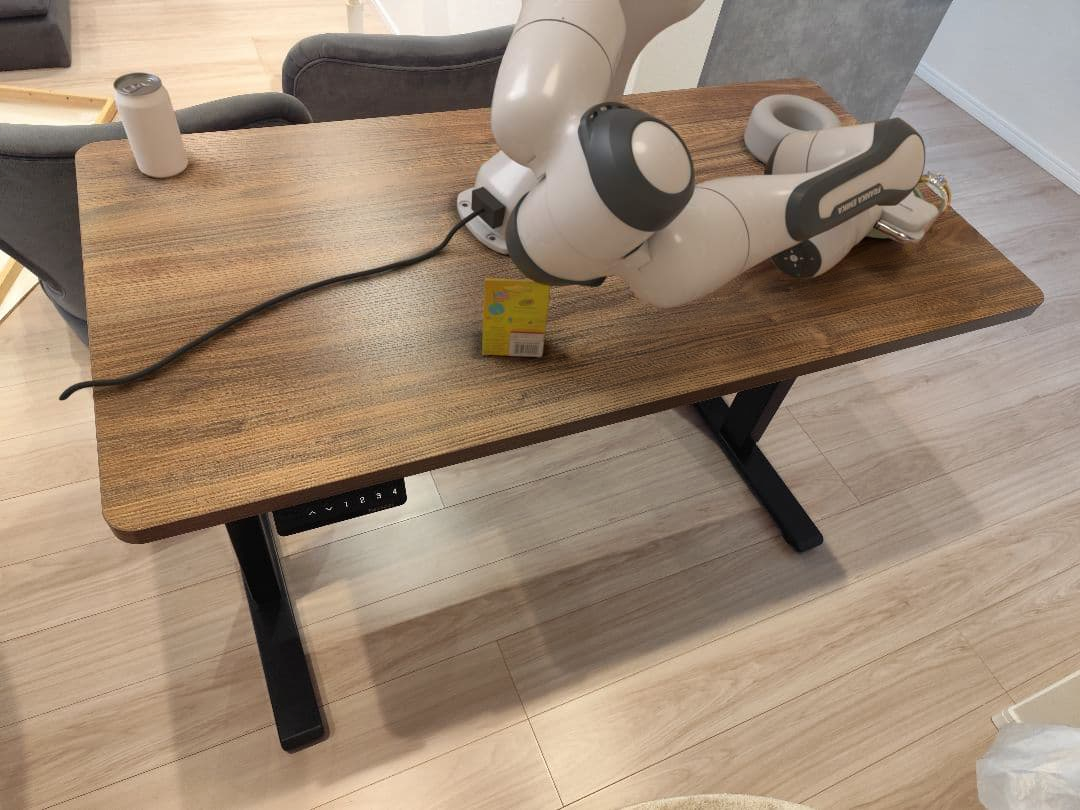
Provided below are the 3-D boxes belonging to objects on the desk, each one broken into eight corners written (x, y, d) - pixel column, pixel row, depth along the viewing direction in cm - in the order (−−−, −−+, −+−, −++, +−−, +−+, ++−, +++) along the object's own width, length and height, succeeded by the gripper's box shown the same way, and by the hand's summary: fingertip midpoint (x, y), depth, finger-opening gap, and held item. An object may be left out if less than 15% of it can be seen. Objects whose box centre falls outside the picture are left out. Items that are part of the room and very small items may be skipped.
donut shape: (786, 119, 131) (800, 83, 126) (847, 165, 123) (865, 128, 118) (723, 136, 125) (736, 99, 120) (784, 185, 117) (800, 147, 112)
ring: (889, 208, 116) (915, 164, 110) (903, 204, 117) (929, 160, 111) (922, 234, 112) (951, 190, 106) (936, 230, 114) (965, 186, 108)
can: (199, 165, 103) (176, 83, 94) (161, 185, 100) (133, 101, 90) (167, 147, 105) (141, 65, 96) (128, 166, 101) (97, 83, 92)
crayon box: (541, 340, 89) (552, 266, 80) (542, 358, 87) (553, 285, 78) (481, 337, 89) (485, 262, 80) (480, 355, 87) (484, 281, 78)
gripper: (926, 227, 97) (962, 188, 104) (791, 159, 104) (834, 128, 112) (903, 264, 102) (938, 225, 109) (775, 197, 109) (817, 165, 117)
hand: (884, 175), depth 111 cm, fingers open, 6 cm apart
